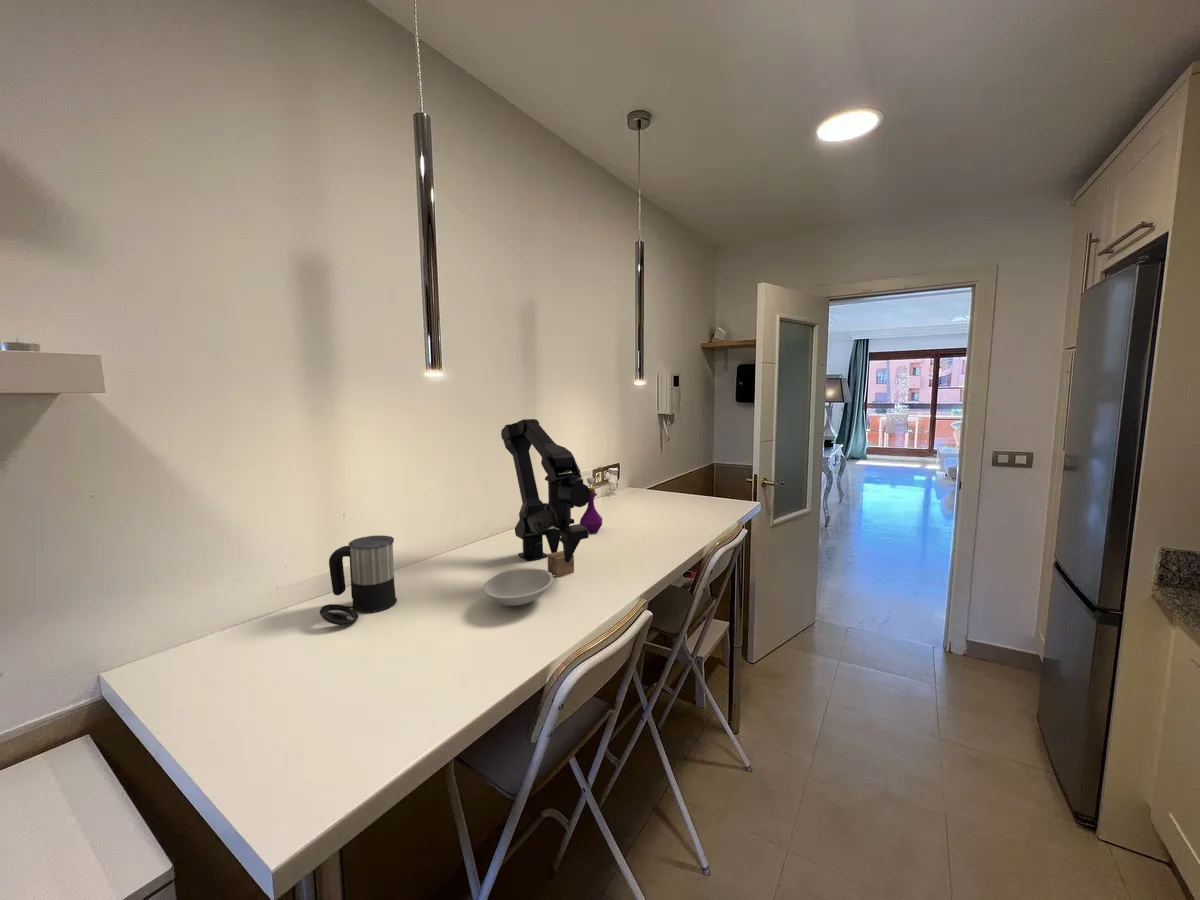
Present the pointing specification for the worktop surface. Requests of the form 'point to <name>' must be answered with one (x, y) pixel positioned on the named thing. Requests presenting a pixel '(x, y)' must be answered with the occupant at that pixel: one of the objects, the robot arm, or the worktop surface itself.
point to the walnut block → (560, 564)
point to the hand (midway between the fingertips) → (560, 558)
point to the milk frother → (362, 578)
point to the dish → (518, 586)
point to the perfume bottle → (591, 512)
